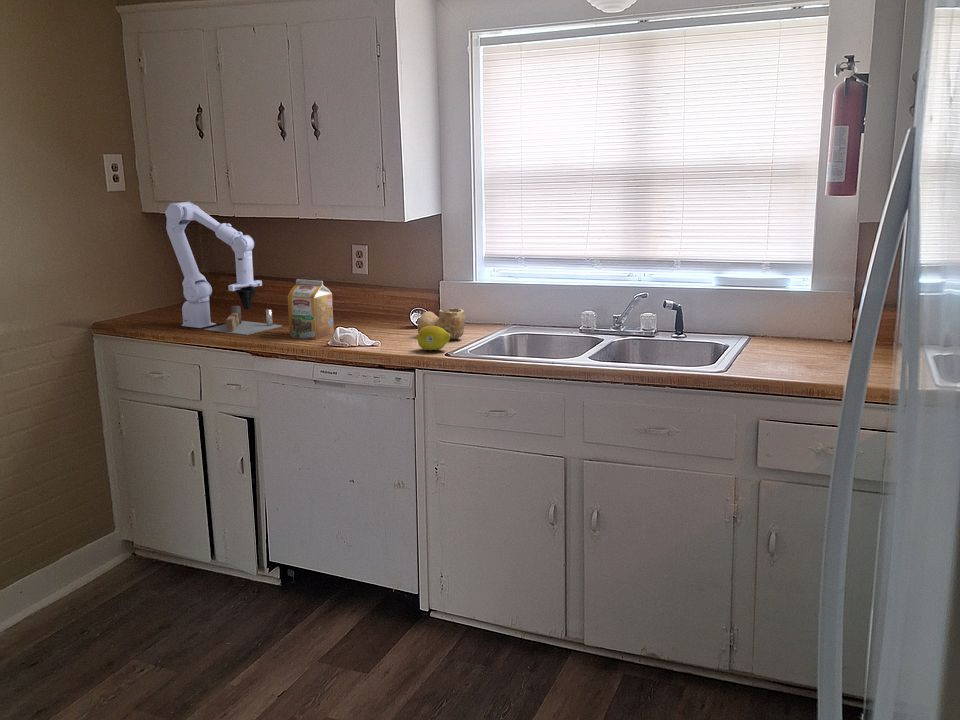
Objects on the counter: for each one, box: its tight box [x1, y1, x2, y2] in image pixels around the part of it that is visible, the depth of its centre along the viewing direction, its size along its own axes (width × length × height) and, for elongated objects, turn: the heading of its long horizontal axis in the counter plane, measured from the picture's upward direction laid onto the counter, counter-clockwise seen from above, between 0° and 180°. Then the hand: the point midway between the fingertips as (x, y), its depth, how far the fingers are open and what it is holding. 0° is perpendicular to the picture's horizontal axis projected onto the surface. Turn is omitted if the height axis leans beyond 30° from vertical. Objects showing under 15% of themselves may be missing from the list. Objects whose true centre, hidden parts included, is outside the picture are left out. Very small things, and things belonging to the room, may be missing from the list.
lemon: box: [416, 326, 451, 351], centre depth 272 cm, size 11×8×8 cm
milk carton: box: [287, 278, 335, 341], centre depth 295 cm, size 11×11×19 cm
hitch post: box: [265, 309, 274, 326], centre depth 312 cm, size 2×2×6 cm
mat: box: [203, 320, 283, 336], centre depth 310 cm, size 20×18×1 cm
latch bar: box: [225, 305, 243, 331], centre depth 309 cm, size 17×3×6 cm, turn 6°
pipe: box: [416, 307, 466, 341], centre depth 291 cm, size 9×16×10 cm, turn 57°
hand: (246, 308), depth 309 cm, fingers closed
